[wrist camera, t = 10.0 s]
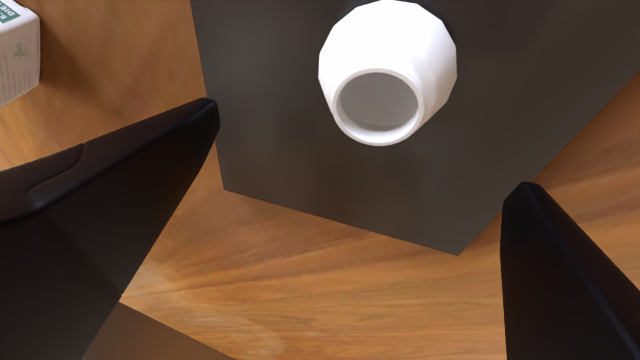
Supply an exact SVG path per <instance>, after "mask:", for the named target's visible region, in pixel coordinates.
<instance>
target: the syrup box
mask: <svg viewBox="0 0 640 360" xmlns="http://www.w3.org/2000/svg"><path fill="white" fill-rule="evenodd" d="M39 75H40V18H39V17H38V16H37V15H36V14H35V13H33V12H32V11H31V10H29V9H27V8H24V7H22V6H20V5H19V4H17V3H16V2H14V1H13V0H0V109H1V108H3V107H4V106H6V105H8V104H9V103H11V102H12V101H14V100H16V99H17V98H19V97H20V96H22V95H24V94H25V93H27V92H28V91H30V90H32V89H33V88H35V87H36V86H38V83H39Z"/></svg>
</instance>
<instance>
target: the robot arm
mask: <svg viewBox="0 0 640 360" xmlns="http://www.w3.org/2000/svg"><path fill="white" fill-rule="evenodd" d="M219 129H220V116H219V109H218V104H217V102H216V101H215V100H212V99H208V98H199V99H197V100H194V101H191V102H189V103H186V104H184V105H181V106H178V107H176V108H173V109H170V110H168V111H165V112H163V113H160V114H157V115H155V116H152V117H150V118H147V119H144V120H142V121H139V122H137V123H134V124H131V125H129V126H126V127H123V128H121V129H118V130H116V131H113V132H110V133H108V134H105V135H103V136H100V137H97V138H95V139H92V140H89V141H87V142H85V144H83V143H81V144H79V145H76V146H74V147H71V148H68V149H66V150H63V151H60V152H58V153H55V154H52V155H49V156H47V157H44V158H41V159H38V160H35V161H32V162H28V163H25V164H22V165H19V166H16V167H13V168H10V169H7V170H3V171H0V360H82V358H83V357H84V355H85V353H86V352H87V350H88V349H89V347H90V346H91V344H92V342H93V341H94V339H95V338H96V336H97V334H98V333H99V331H100V330H101V328H102V326H103V325H104V323H105V322H106V320H107V319H108V317H109V315H110V314H111V312H112V311H113V309H114V307H115V306H116V304H117V303H118V301H119V299H120V298H121V296H122V295H121V294H123V293H124V291H125V289H126V288H127V286H128V285H129V283H130V281H131V280H132V278H133V277H134V275H135V274H136V272H137V270H138V269H139V267H140V266H141V264H142V262H143V261H144V259H145V258H146V256H147V254H148V253H149V251H150V250H151V248H152V246H153V245H154V243H155V242H156V240H157V238H158V237H159V235H160V234H161V232H162V230H163V229H164V227H165V226H166V224H167V223H168V221H169V219H170V218H171V216H172V215H173V213H174V211H175V210H176V208H177V207H178V205H179V203H180V202H181V200H182V199H183V197H184V195H185V194H186V192H187V191H188V189H189V187H190V186H191V184H192V183H193V181H194V179H195V178H196V176H197V175H198V173H199V171H200V170H201V168H202V166H203V164H204V162H205V160H206V157H207V155H208V153H209V151H210V149H211V147H212V145H213V142H214V140H215V138H216V136H217V134H218V132H219ZM500 263H501V278H502V293H503V307H504V322H505V337H506V352H507V360H640V290H639V289H638V288H637V287H636V286H635V285H634V284H633V283H632V282H631V281H630V280H629V279H628V278H627V277H626V276H625V275H624V273H623V272H622V271H621V270H620V269H619V268H618V267H617V266H616V265H615V264H614V263H613V262H612V261H611V260H610V259H609V258H608V257H607V255H606V254H605V253H604V252H603V251H602V250H601V249H600V248H599V247H598V246H597V245H596V244H595V243H594V242H593V241H592V240H591V239H590V237H589V236H588V235H587V234H586V233H585V232H584V231H583V230H582V229H581V228H580V227H579V226H578V225H577V224H576V223H575V222H574V220H573V219H572V218H571V217H570V216H569V215H568V214H567V213H566V212H565V211H564V210H563V209H562V208H561V207H560V206H559V205H558V204H557V202H556V201H555V200H554V199H553V198H552V197H551V196H550V195H549V194H548V193H547V192H546V191H545V190H544V189H543V188H542V187H541V186H540V185H538V184H535V183H531V182H527V181H523V182H521V183H520V184H519V185H518V186H517V187H516V188H515V189H514V190H513V191H512V192H511V193H510V194H509V195H508V196H507V197H506V199H505V200H504V203H503V208H502V224H501V240H500Z"/></svg>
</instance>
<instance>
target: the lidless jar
mask: <svg viewBox="0 0 640 360" xmlns="http://www.w3.org/2000/svg"><path fill="white" fill-rule="evenodd" d="M318 79H319V81H320V84H321V87H322V90H323V93H324V96H325V98H326V101H327V103H328V106H329V108H330V110H331V113H332V114H333V117H334V119H335V121H336V123H337V125H338V126H339V127H340V129H341V130H342V131H343V132H344V133H345V134H346V135H348V136H349V137H351V138H352V139H354V140H356V141H358V142H361V143H364V144H367V145H373V146H386V145H392V144H395V143H398V142H401V141H403V140H405V139H406V138H408V137H409V136H411V135H412V134H413V133H414V132H415V131H417V130H418V129H419V128H420V127H421V126H422V125H423V124H424V123H425V122H427V121H428V120H429V119H430V118H431V117H432V116H433V115H434V114H435V113H436V112H437V111H438V110H439V109H440V108H441V107H442V106H443V105H444V104H445V103H446V102H447V100H448V98H449V95H450V93H451V90H452V88H453V86H454V83H455V81H456V79H457V66H456V46H455V44H454V42H453V40H452V39H451V37H450V35H449V33H448V31H447V30H446V28H445V26H444V24H443V22H442V21H441V20H440V19H438V18H437V17H435V16H434V15H432V14H431V13H429V12H428V11H426V10H425V9H423V8H422V7H421V6H419V5H418V4H414V3H408V2H401V1H394V0H381V1H378V2H374V3H370V4H367V5H363V6H360V7H356V8H355V9H354V10H353V11H351V12H350V13H349V14H348V15H346V16H345V17H344V18H343V19H342V20H340V21H339V22H338V23H337V24H336V25H334V27H333V28H332V30H331V32H330V34H329V36H328V38H327V40H326V42H325V44H324V46H323V48H322V50H321V52H320V56H319V73H318Z"/></svg>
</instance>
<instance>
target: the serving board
mask: <svg viewBox="0 0 640 360" xmlns="http://www.w3.org/2000/svg"><path fill="white" fill-rule="evenodd" d="M378 1H381V0H190V2H191V8H192V14H193V19H194V25H195V30H196V36H197V42H198V47H199V53H200V58H201V64H202V70H203V75H204V81H205V86H206V92H207V98H208V99H212V100H215V101H216V102H217V104H218V109H219V116H220V129H219V132H218V134H217V136H216V138H215V142H216V148H217V154H218V159H219V165H220V170H221V176H222V182H223V187H224V190H227V191H230V192H234V193H237V194H241V195H244V196H248V197H251V198H255V199H259V200H262V201H266V202H269V203H273V204H276V205H280V206H283V207H287V208H290V209H294V210H297V211H301V212H305V213H308V214H312V215H315V216H319V217H322V218H326V219H329V220H333V221H336V222H340V223H343V224H347V225H350V226H354V227H358V228H361V229H365V230H368V231H372V232H375V233H379V234H382V235H386V236H389V237H393V238H396V239H400V240H404V241H407V242H411V243H414V244H418V245H421V246H425V247H428V248H432V249H435V250H439V251H442V252H446V253H449V254H453V255H457V256H459V254H460V253H461V252H462V251H463V250H464V249H465V248H466V247H467V246H468V245H469V244H470V243H471V242H472V241H473V240H474V239H475V238H476V237H477V236H478V235H479V234H480V233H481V232H482V231H483V230H484V229H485V228H486V227H487V226H488V225H489V224H490V223H491V222H492V221H493V220H494V219H495V218H496V217H497V216H498V215H499V214H500V213H501V212H502V208H503V203H504V200H505V199H506V197H507V196H508V195H509V194H510V193H511V192H512V191H513V190H514V189H515V188H516V187H517V186H518V185H519V184H520V183H521V182H523V181H527V182H531V181H532V180H533V179H534V178H535V177H536V176H537V175H538V174H539V173H540V172H541V171H542V170H543V169H544V168H545V167H546V166H547V164H548V163H549V162H550V161H551V160H552V159H553V158H554V157H555V156H556V155H557V154H558V153H559V152H560V151H561V150H562V149H563V148H564V147H565V146H566V145H567V144H568V143H569V142H570V141H571V140H572V139H573V138H574V137H575V136H576V135H577V134H578V133H579V132H580V131H581V130H582V129H583V128H584V127H585V126H586V125H587V124H588V123H589V122H590V121H591V119H592V118H593V117H594V116H595V115H596V114H597V113H598V112H599V111H600V110H601V109H602V108H603V107H604V106H605V105H606V104H607V103H608V102H609V101H610V100H611V99H612V98H613V97H614V96H615V95H616V94H617V93H618V92H619V91H620V90H621V89H622V88H623V87H624V86H625V85H626V84H627V83H628V82H629V81H630V80H631V79H632V78H633V77H634V76H635V74H636V73H637V72H638V71H639V70H640V0H394V1H401V2H408V3H414V4H418V5H419V6H421V7H422V8H423V9H425V10H426V11H428V12H429V13H431V14H432V15H434V16H435V17H437V18H438V19H440V20H441V21H442V22H443V24H444V26H445V28H446V30H447V31H448V33H449V35H450V37H451V39H452V40H453V42H454V44H455V46H456V66H457V79H456V81H455V83H454V86H453V88H452V90H451V93H450V95H449V98H448V100H447V102H446V103H445V104H444V105H443V106H442V107H441V108H440V109H439V110H438V111H437V112H436V113H435V114H434V115H433V116H432V117H431V118H430V119H429V120H428V121H427V122H425V123H424V124H423V125H422V126H421V127H420V128H419V129H418V130H417V131H415V132H414V133H413V134H412V135H411V136H409V137H408V138H406V139H405V140H403V141H401V142H398V143H395V144H392V145H386V146H373V145H367V144H364V143H361V142H358V141H356V140H354V139H352V138H351V137H349V136H348V135H346V134H345V133H344V132H343V131H342V130H341V129H340V127H339V126H338V125H337V123H336V121H335V119H334V117H333V114H332V113H331V110H330V108H329V106H328V103H327V101H326V98H325V96H324V93H323V90H322V87H321V84H320V81H319V79H318V73H319V56H320V52H321V50H322V48H323V46H324V44H325V42H326V40H327V38H328V36H329V34H330V32H331V30H332V28H333V27H334V25H336V24H337V23H338V22H339V21H340V20H342V19H343V18H344V17H345V16H346V15H348V14H349V13H350V12H351V11H353V10H354V9H355V8H356V7H360V6H363V5H367V4H370V3H374V2H378Z"/></svg>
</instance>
